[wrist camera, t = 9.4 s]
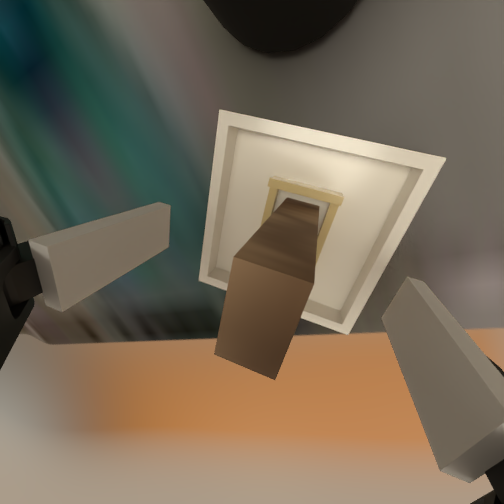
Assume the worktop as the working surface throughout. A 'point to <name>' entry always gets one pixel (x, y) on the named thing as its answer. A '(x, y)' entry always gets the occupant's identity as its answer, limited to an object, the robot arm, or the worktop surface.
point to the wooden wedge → (269, 289)
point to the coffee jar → (279, 21)
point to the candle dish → (318, 193)
